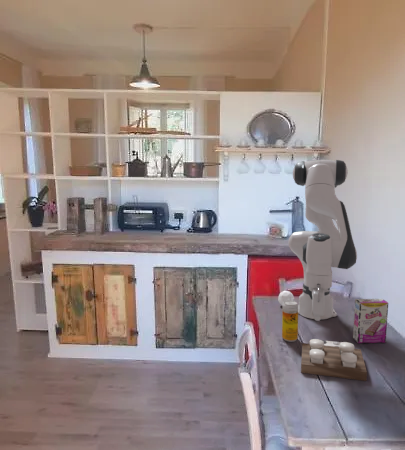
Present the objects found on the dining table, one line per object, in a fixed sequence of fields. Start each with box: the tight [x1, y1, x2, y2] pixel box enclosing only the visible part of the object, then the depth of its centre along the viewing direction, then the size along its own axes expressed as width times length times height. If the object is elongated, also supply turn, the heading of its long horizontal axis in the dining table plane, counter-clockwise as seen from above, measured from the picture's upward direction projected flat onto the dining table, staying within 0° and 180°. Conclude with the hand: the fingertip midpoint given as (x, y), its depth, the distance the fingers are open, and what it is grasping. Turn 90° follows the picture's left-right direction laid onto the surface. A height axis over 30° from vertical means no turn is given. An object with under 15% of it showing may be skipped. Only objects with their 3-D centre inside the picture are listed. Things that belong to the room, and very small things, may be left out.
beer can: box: [281, 300, 299, 343], centre depth 147 cm, size 6×6×15 cm
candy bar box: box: [352, 298, 389, 344], centre depth 144 cm, size 11×5×16 cm, turn 92°
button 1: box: [309, 338, 324, 350], centre depth 132 cm, size 5×5×4 cm
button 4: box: [341, 352, 357, 368], centre depth 122 cm, size 5×5×4 cm
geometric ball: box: [277, 290, 295, 306], centre depth 185 cm, size 8×8×8 cm
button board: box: [300, 342, 368, 382], centre depth 127 cm, size 16×20×3 cm
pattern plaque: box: [321, 339, 342, 347], centre depth 141 cm, size 7×9×1 cm
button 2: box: [339, 341, 355, 354], centre depth 129 cm, size 5×5×4 cm
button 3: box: [310, 349, 325, 364], centre depth 125 cm, size 5×5×4 cm
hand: (317, 319), depth 130 cm, fingers closed
